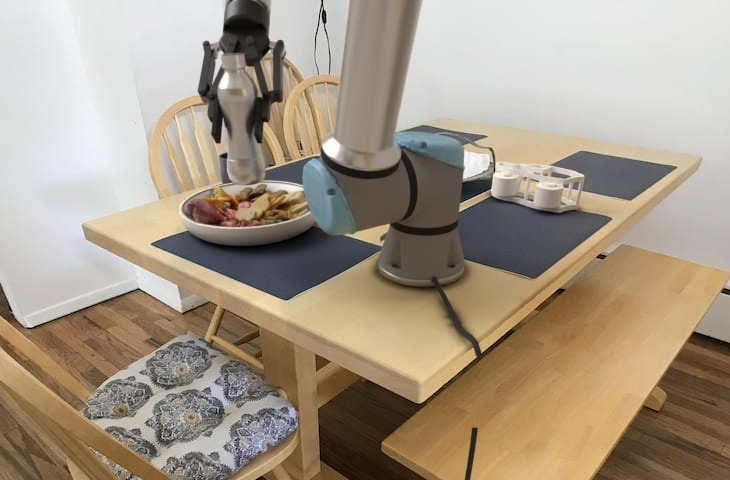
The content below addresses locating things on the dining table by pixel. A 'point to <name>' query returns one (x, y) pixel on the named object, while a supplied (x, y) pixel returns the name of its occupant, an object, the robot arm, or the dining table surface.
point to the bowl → (247, 213)
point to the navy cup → (224, 168)
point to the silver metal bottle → (240, 121)
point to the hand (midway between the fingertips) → (236, 138)
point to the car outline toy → (546, 189)
